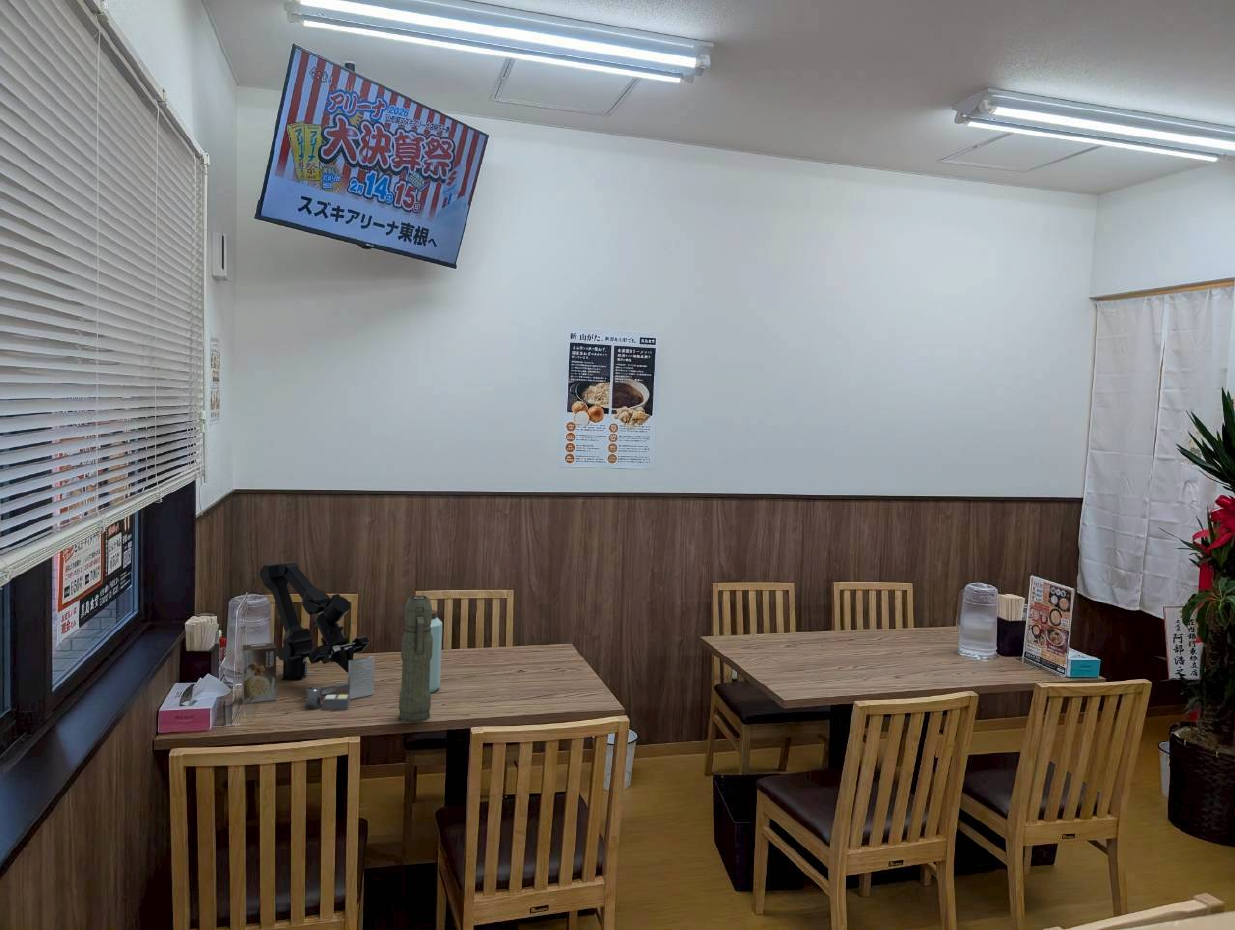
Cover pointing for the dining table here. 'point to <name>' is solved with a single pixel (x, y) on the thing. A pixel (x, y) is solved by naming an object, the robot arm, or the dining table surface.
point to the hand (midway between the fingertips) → (351, 673)
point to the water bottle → (435, 652)
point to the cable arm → (357, 683)
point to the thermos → (416, 660)
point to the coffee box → (259, 672)
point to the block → (336, 702)
